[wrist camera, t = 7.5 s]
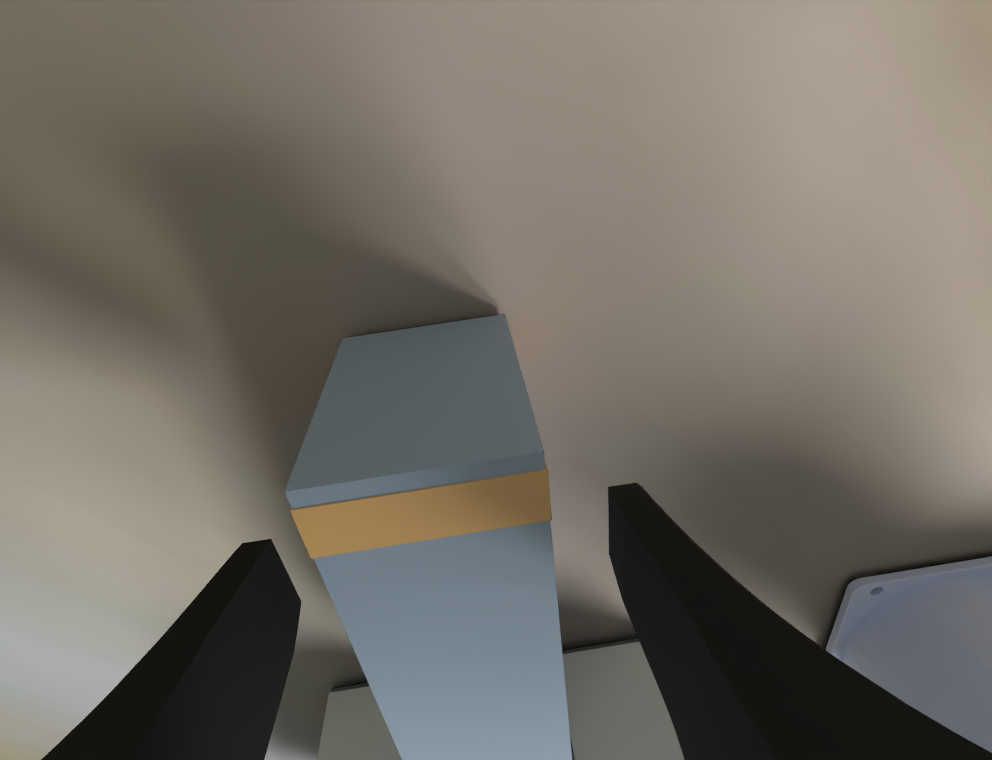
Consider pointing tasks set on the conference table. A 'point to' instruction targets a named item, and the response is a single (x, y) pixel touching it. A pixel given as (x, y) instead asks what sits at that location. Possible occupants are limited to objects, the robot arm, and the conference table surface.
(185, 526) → the conference table surface
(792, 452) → the conference table surface
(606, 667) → the gray u-shaped block
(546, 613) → the blue-grey long block
